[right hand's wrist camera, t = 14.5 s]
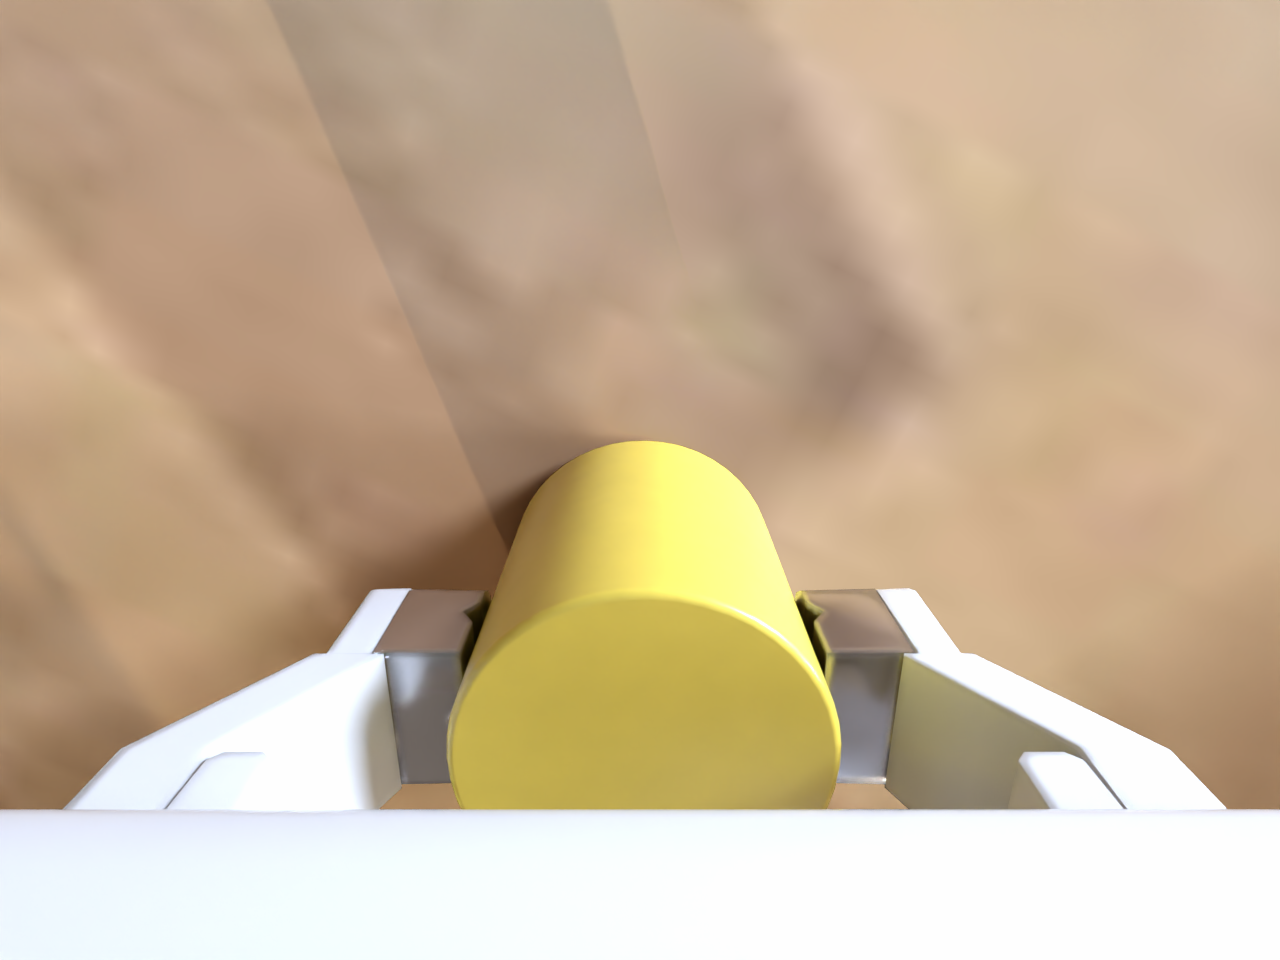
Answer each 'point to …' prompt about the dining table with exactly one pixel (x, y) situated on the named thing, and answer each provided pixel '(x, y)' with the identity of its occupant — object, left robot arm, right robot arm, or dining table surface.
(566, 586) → the canister
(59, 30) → the dining table surface
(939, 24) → the dining table surface
